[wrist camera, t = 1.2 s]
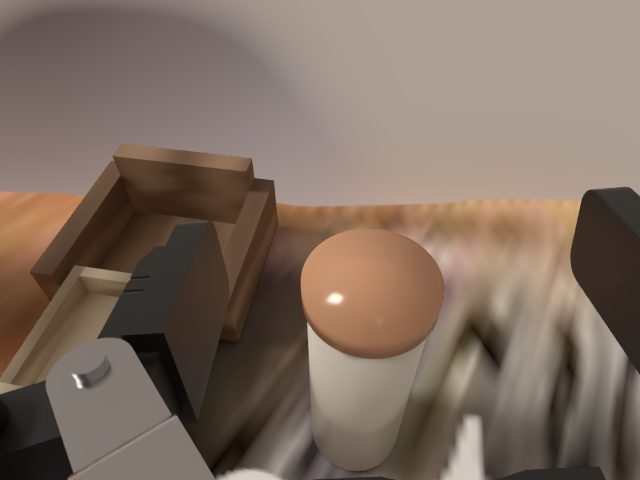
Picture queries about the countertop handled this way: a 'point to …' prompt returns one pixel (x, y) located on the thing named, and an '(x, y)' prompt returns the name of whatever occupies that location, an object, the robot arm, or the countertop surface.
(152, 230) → the box
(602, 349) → the countertop surface
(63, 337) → the wooden drawer
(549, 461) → the countertop surface
